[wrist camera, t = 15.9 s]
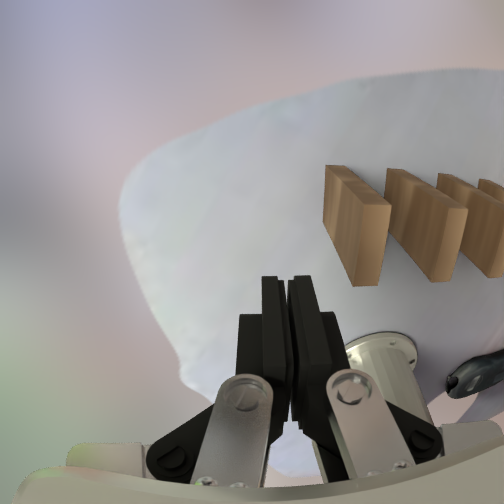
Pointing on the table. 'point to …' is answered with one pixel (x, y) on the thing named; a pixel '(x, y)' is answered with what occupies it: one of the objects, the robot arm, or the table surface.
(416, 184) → the domino
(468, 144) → the table surface
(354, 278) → the domino
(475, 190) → the domino
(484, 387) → the electronic device
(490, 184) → the domino
